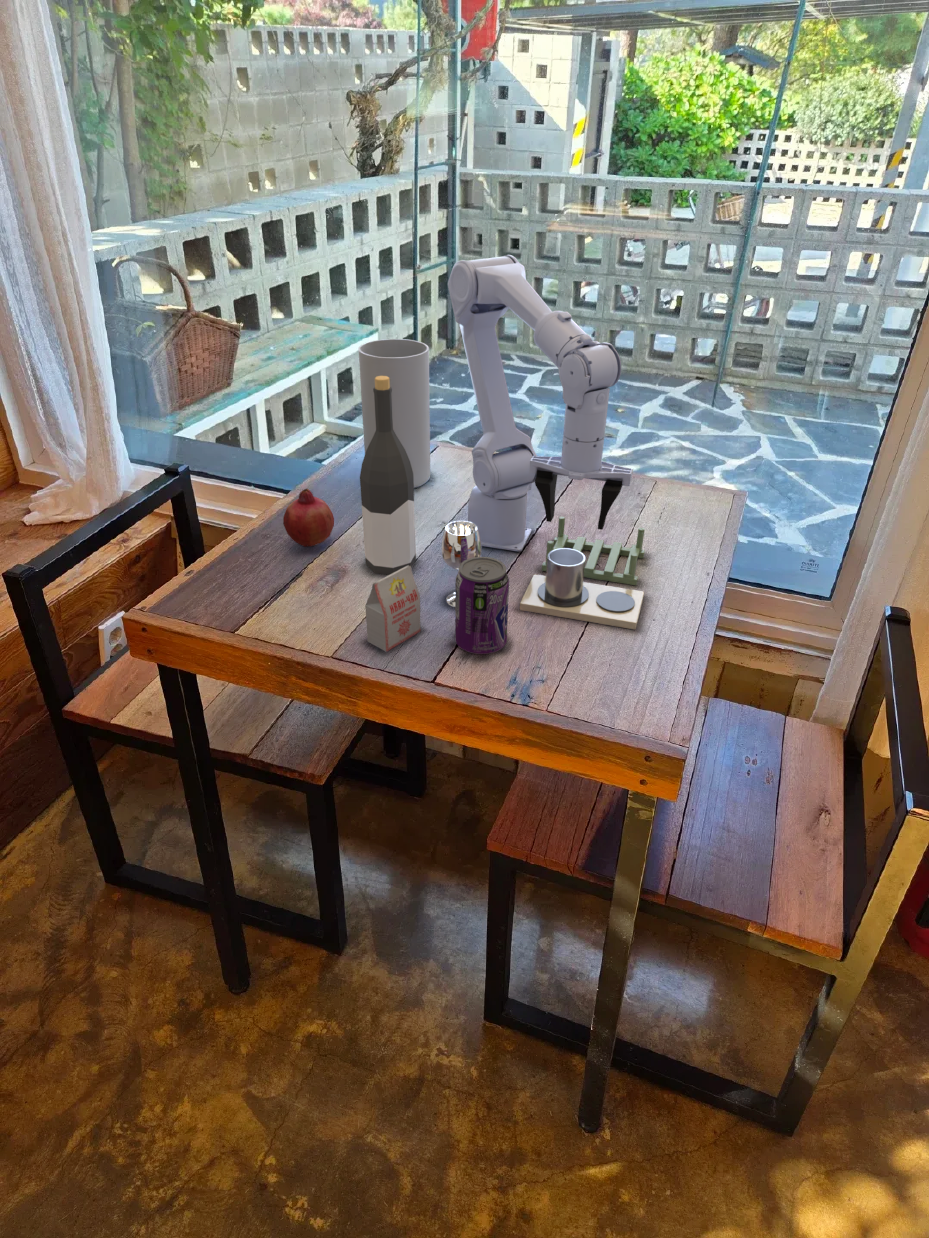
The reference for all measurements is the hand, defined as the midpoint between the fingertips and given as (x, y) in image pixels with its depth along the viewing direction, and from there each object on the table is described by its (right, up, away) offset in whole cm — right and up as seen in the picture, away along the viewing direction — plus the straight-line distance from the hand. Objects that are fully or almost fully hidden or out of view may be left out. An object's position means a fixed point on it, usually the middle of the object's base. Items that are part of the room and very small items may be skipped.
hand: (575, 522), depth 122 cm
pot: (-2, -10, 0) cm, 10 cm away
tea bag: (-26, -17, -7) cm, 32 cm away
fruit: (-42, -2, +15) cm, 45 cm away
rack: (+4, -5, +11) cm, 13 cm away
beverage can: (-14, -18, -8) cm, 24 cm away
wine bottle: (-28, -6, +10) cm, 31 cm away
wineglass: (-17, -12, +1) cm, 21 cm away
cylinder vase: (-29, +13, +39) cm, 50 cm away
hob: (+1, -12, 0) cm, 12 cm away
